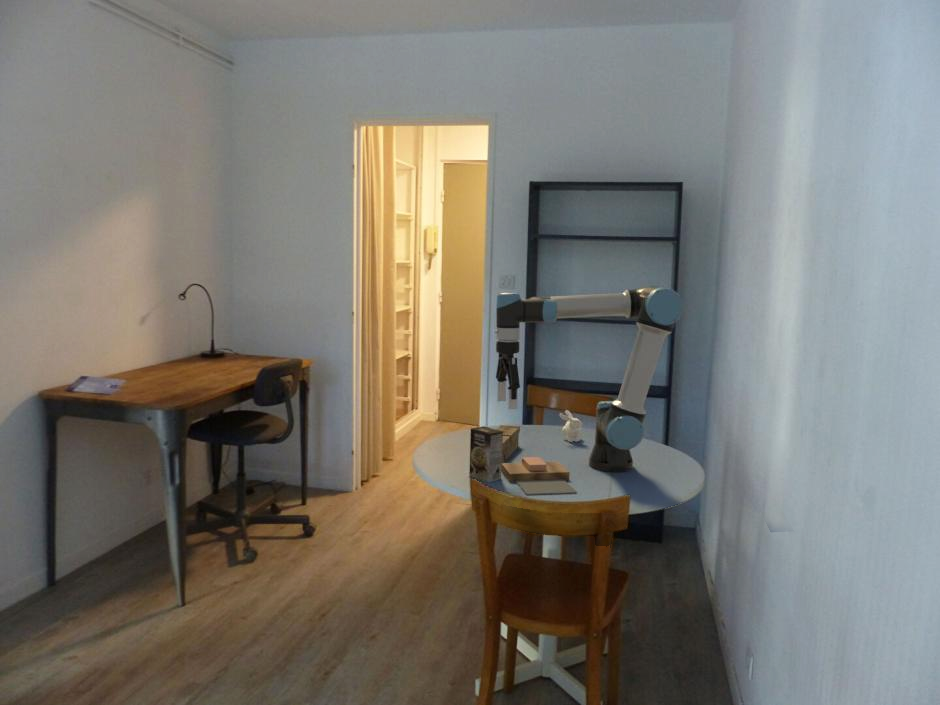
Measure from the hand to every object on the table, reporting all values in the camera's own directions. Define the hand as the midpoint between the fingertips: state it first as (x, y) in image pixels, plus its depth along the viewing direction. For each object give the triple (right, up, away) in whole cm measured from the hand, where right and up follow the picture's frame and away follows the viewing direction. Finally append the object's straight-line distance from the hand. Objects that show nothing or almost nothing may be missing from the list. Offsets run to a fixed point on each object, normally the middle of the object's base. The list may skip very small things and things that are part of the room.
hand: (507, 405), depth 228 cm
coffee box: (-7, -24, -1) cm, 25 cm away
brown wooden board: (+9, -24, +3) cm, 26 cm away
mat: (+12, -25, -10) cm, 29 cm away
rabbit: (+29, -18, +52) cm, 62 cm away
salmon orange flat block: (+9, -21, +4) cm, 23 cm away
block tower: (-1, -21, +29) cm, 35 cm away
